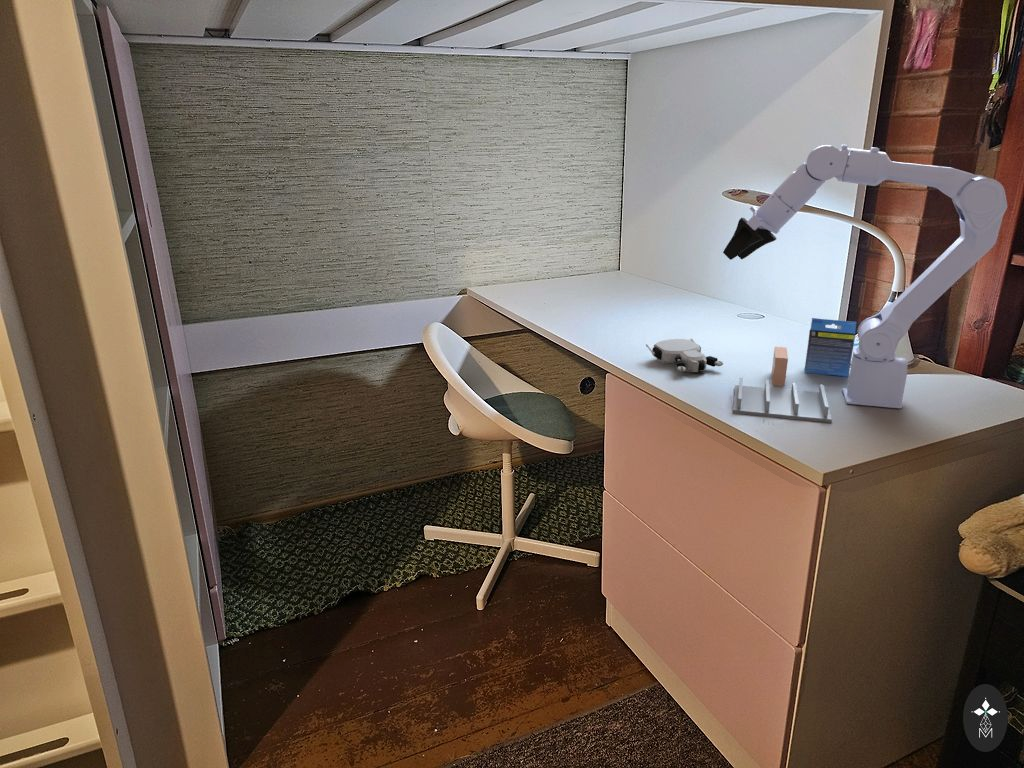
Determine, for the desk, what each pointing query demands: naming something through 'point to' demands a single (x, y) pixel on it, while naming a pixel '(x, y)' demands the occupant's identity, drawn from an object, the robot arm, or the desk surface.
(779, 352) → the tile
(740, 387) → the rack
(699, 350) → the robot toy
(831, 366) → the label tape box
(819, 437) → the desk surface
